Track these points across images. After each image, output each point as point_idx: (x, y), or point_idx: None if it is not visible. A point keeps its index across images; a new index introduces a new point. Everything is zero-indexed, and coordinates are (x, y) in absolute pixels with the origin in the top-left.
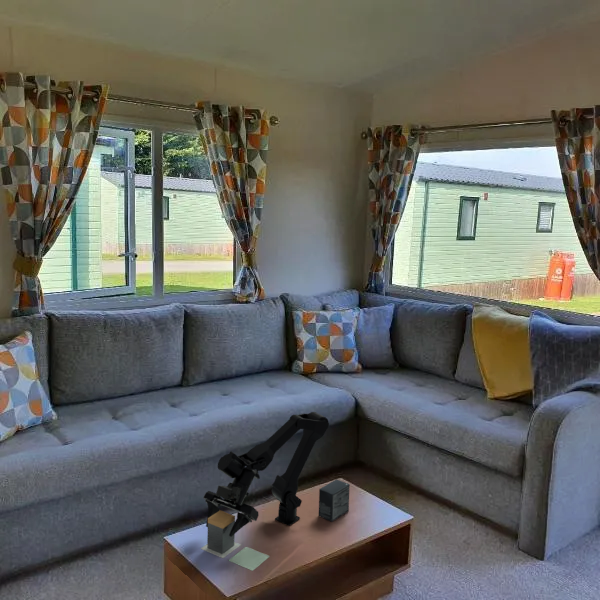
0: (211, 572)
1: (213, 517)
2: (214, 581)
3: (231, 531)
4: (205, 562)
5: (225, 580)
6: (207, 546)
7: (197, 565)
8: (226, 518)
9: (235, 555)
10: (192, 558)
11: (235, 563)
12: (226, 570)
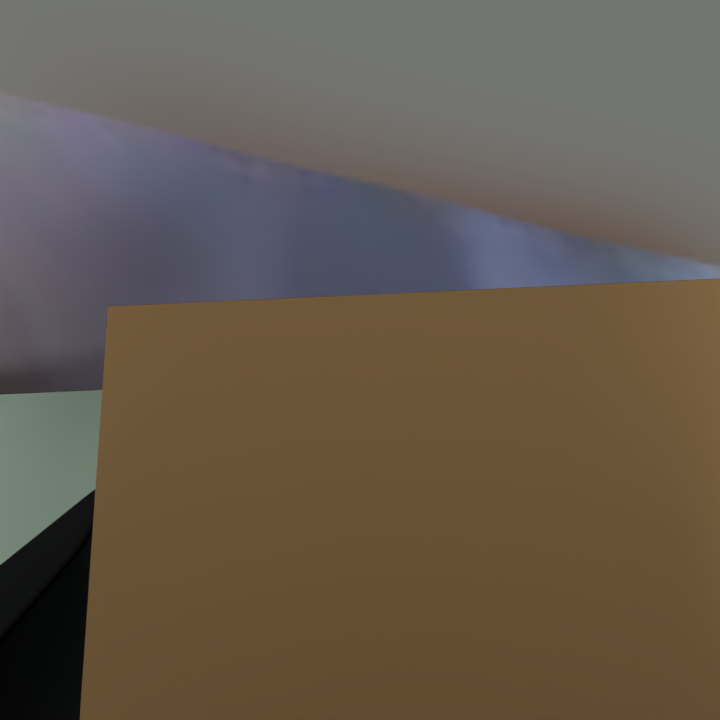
0: (211, 193)
1: (687, 437)
2: (105, 120)
3: (55, 538)
4: (366, 271)
5: (27, 184)
6: None
7: (394, 193)
8: (241, 709)
9: None
10: (518, 243)
11: (43, 393)
12: (106, 298)
